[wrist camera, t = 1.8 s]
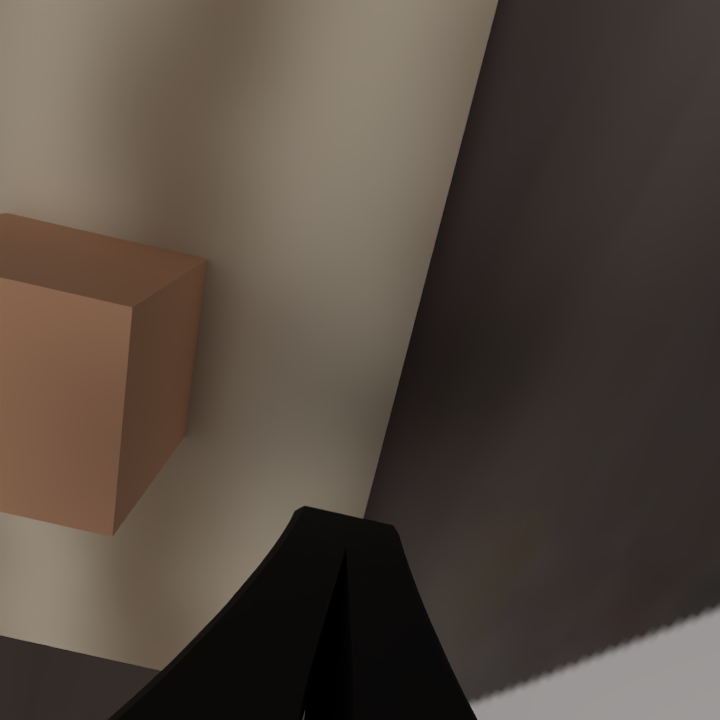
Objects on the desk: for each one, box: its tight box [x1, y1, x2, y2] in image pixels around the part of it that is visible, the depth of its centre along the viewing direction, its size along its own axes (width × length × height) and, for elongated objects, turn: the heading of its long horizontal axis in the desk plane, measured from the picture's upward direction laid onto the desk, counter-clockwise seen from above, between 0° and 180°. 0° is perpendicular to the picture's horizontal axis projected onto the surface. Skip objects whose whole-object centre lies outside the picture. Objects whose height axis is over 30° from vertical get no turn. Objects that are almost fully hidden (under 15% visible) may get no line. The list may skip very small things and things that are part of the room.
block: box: [0, 213, 208, 537], centre depth 12 cm, size 4×4×4 cm
